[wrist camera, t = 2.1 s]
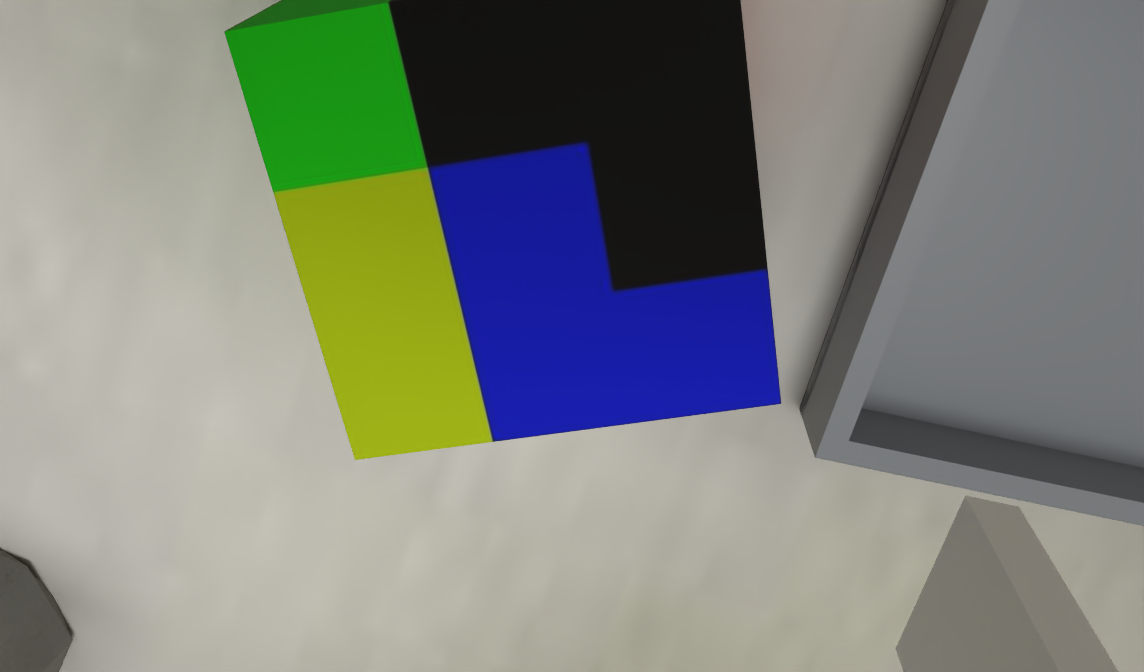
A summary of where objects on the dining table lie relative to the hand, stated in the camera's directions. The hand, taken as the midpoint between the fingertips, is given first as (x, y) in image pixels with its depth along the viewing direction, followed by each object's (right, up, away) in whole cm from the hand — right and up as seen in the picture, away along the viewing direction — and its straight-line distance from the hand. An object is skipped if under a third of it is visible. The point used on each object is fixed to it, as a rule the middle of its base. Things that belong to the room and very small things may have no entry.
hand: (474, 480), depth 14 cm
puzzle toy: (+1, +9, +17) cm, 19 cm away
